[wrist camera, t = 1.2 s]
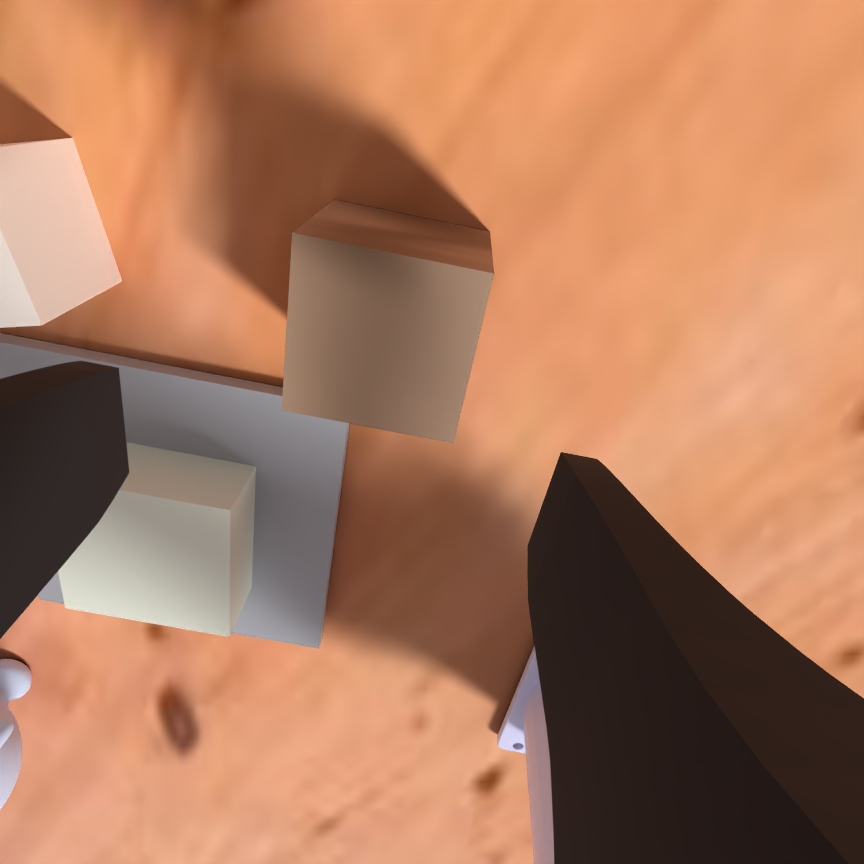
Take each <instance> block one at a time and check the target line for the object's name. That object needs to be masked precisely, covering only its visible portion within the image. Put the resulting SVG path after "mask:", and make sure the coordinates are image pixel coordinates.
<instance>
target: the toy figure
mask: <svg viewBox="0 0 864 864" xmlns="http://www.w3.org/2000/svg"><path fill="white" fill-rule="evenodd" d="M31 682H32V674H31V671H30V670H29V668H28V667H27V666H26V665H25V664H23V663H21V662H19V661H17V660H14V659H0V809H1V808H2V807H3V805H4V804H5V802H6V801H7V799H8V797H9V796H10V794H11V792H12V790H13V788H14V786H15V783H16V781H17V778H18V775H19V772H20V767H21V760H22V739H21V734H20V730H19V727H18V724H17V721H16V719H15V717H14V715H13V714H12V712H11V711H10V710H9V708H8V706H7V705H8V702H9V701H11V700H14V699H17V698H19V697H21V696H23V695H24V694H25V693H26V692H27V691H28V690H29V688H30V686H31Z"/></svg>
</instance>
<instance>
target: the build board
mask: <svg viewBox="0 0 864 864" xmlns="http://www.w3.org/2000/svg"><path fill="white" fill-rule="evenodd" d="M74 361H86V362H91V363H96V364H101V365H107V366H112V367H117V368H119V374H120V384H121V394H122V404H123V414H124V424H125V433H126V442H128V443H133V444H139V445H144V446H149V447H155V448H160V449H165V450H171V451H176V452H182V453H187V454H192V455H198V456H203V457H208V458H214V459H219V460H224V461H230V462H235V463H240V464H246V465H251V466H256V480H255V509H254V537H253V565H252V588H251V590H250V592H249V594H248V596H247V599H246V601H245V603H244V605H243V608H242V610H241V612H240V614H239V617H238V619H237V621H236V623H235V626H234V628H233V630H232V632H231V633H234V634H240V635H245V636H251V637H257V638H262V639H268V640H274V641H280V642H285V643H291V644H297V645H302V646H308V647H314V648H319V646H320V643H321V639H322V634H323V626H324V618H325V611H326V603H327V595H328V587H329V580H330V572H331V564H332V557H333V549H334V541H335V533H336V526H337V518H338V510H339V502H340V495H341V487H342V479H343V471H344V464H345V456H346V448H347V441H348V433H349V425H350V423H345V422H340V421H335V420H329V419H324V418H319V417H314V416H308V415H303V414H298V413H293V412H287V411H282V397H283V387H279V386H274V385H268V384H263V383H258V382H253V381H248V380H242V379H237V378H232V377H227V376H222V375H216V374H211V373H206V372H201V371H196V370H190V369H185V368H180V367H175V366H170V365H164V364H159V363H154V362H149V361H144V360H138V359H133V358H128V357H123V356H118V355H112V354H107V353H102V352H97V351H92V350H86V349H81V348H76V347H71V346H66V345H61V344H55V343H50V342H45V341H40V340H35V339H29V338H24V337H19V336H14V335H9V334H3V333H0V379H1V378H5V377H9V376H12V375H16V374H20V373H24V372H28V371H31V370H36V369H40V368H44V367H48V366H52V365H57V364H62V363H67V362H74ZM38 596H39V599H40V600H46V601H51V602H57V603H63V604H64V599H63V594H62V589H61V584H60V579H59V574H58V572H57V573H56V574H55V575H54V576H53V578H52V579H51V580H50V581H49V582H48V583H47V585H46V586H45V587H44V588H43V589H42V590H41V592H40V593H39V594H38Z"/></svg>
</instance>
